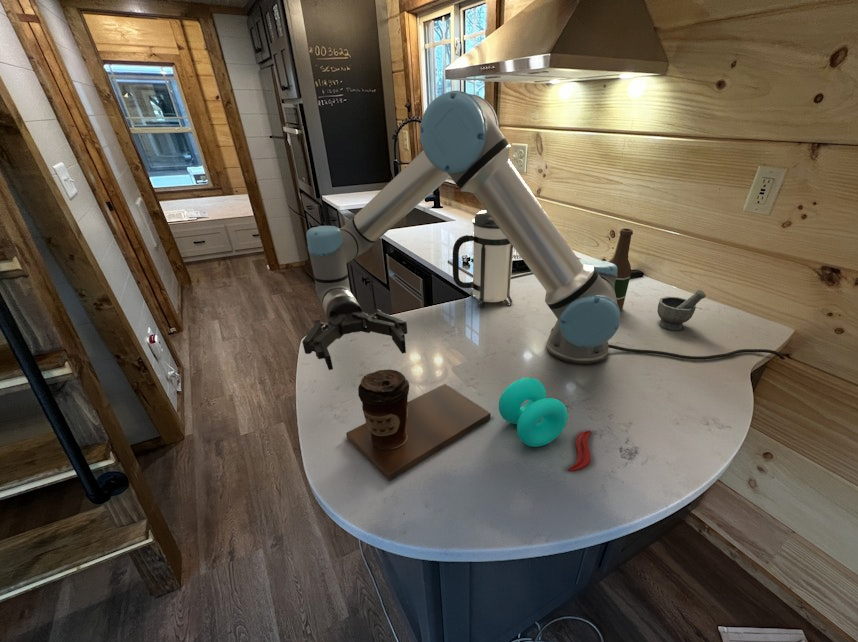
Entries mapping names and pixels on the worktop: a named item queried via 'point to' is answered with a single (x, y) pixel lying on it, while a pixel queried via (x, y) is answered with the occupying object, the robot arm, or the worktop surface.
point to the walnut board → (423, 430)
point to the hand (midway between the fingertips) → (367, 354)
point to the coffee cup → (385, 407)
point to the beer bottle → (622, 266)
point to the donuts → (533, 412)
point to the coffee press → (487, 261)
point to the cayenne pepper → (582, 451)
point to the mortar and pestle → (677, 310)
